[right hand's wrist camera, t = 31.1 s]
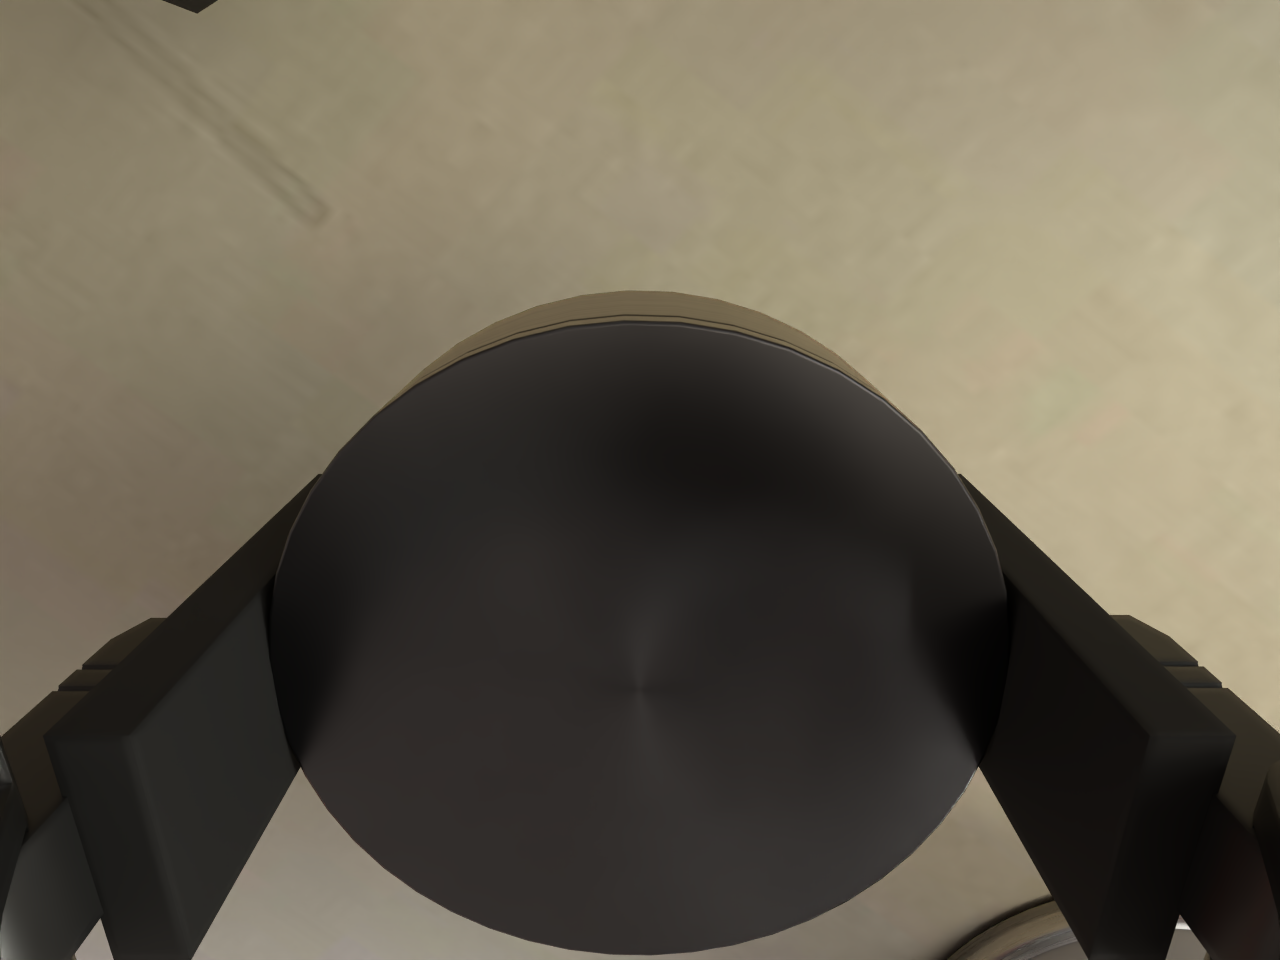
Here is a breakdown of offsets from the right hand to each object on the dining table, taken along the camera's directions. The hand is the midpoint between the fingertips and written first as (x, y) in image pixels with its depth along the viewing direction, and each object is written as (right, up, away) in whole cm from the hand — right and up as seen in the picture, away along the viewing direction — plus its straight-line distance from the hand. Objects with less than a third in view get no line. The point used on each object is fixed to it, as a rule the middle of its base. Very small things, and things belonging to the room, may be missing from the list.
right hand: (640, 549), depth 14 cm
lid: (0, -1, -3) cm, 4 cm away
